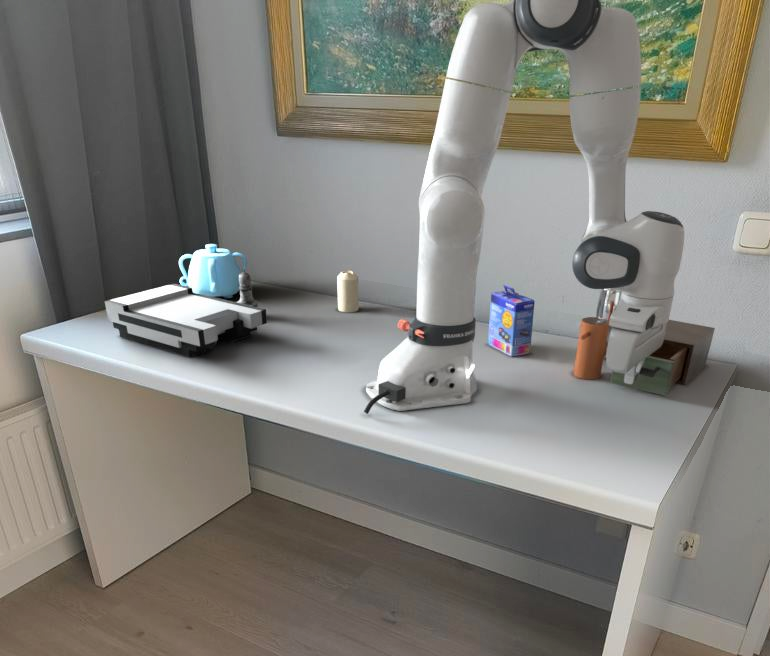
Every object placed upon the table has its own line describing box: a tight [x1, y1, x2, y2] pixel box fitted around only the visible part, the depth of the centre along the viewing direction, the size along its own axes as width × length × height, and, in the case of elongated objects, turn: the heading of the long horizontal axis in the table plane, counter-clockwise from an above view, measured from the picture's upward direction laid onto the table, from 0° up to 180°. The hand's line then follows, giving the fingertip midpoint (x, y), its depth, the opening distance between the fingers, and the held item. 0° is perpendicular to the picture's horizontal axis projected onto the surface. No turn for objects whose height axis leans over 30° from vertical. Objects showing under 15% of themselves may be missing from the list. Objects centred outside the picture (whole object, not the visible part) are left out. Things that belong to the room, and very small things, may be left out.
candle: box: [336, 269, 360, 313], centre depth 189 cm, size 6×6×10 cm
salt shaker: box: [235, 269, 259, 308], centre depth 182 cm, size 6×6×12 cm
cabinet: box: [663, 319, 716, 386], centre depth 152 cm, size 14×12×8 cm
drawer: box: [610, 343, 690, 396], centre depth 143 cm, size 18×11×7 cm, turn 143°
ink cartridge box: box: [487, 284, 536, 358], centre depth 161 cm, size 10×6×14 cm, turn 28°
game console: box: [104, 283, 268, 358], centre depth 169 cm, size 21×32×8 cm, turn 54°
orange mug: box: [573, 316, 609, 381], centre depth 146 cm, size 9×6×12 cm, turn 143°
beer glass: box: [595, 287, 623, 360], centre depth 158 cm, size 7×7×15 cm
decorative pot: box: [178, 243, 248, 299], centre depth 200 cm, size 16×16×14 cm
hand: (630, 381), depth 136 cm, fingers closed
